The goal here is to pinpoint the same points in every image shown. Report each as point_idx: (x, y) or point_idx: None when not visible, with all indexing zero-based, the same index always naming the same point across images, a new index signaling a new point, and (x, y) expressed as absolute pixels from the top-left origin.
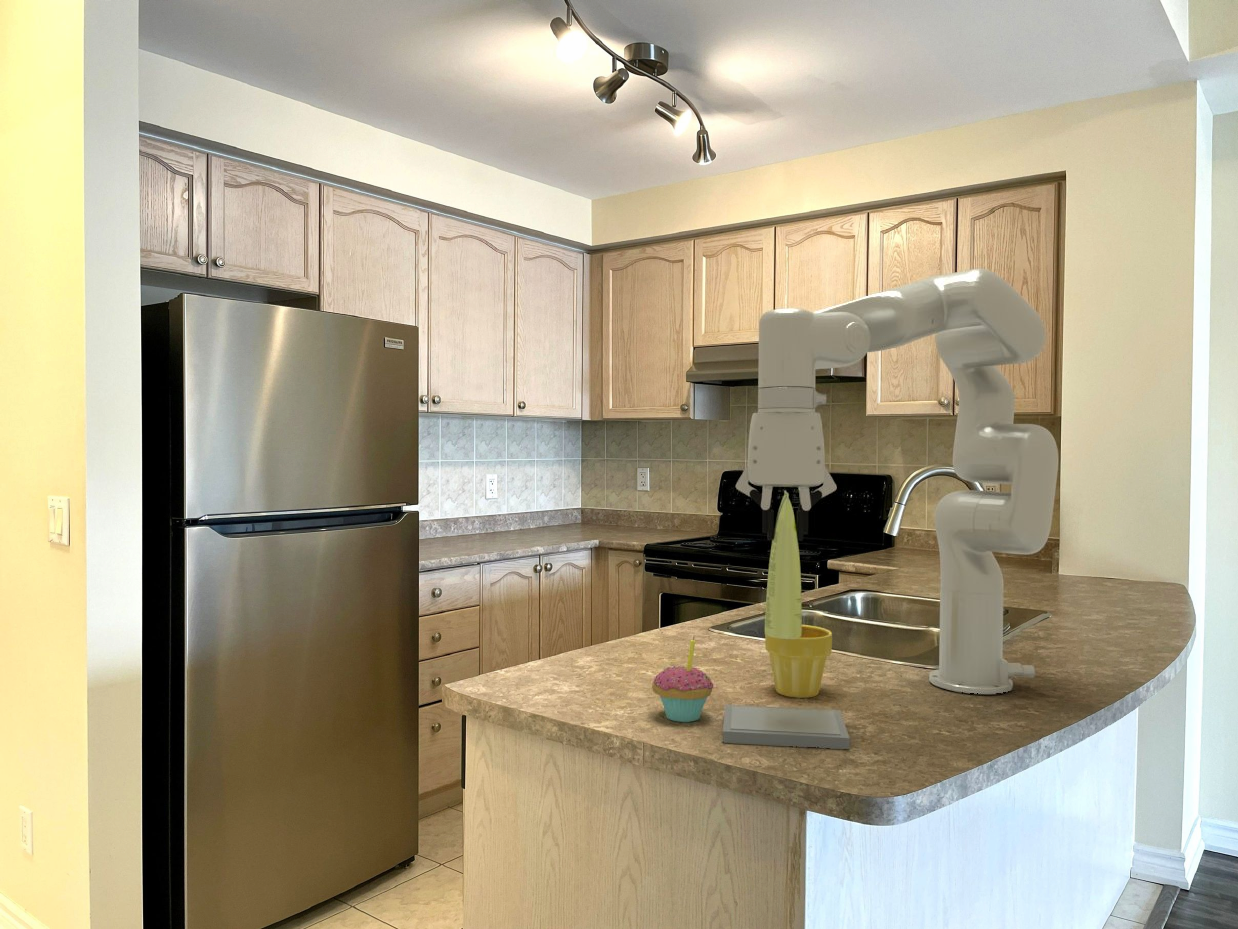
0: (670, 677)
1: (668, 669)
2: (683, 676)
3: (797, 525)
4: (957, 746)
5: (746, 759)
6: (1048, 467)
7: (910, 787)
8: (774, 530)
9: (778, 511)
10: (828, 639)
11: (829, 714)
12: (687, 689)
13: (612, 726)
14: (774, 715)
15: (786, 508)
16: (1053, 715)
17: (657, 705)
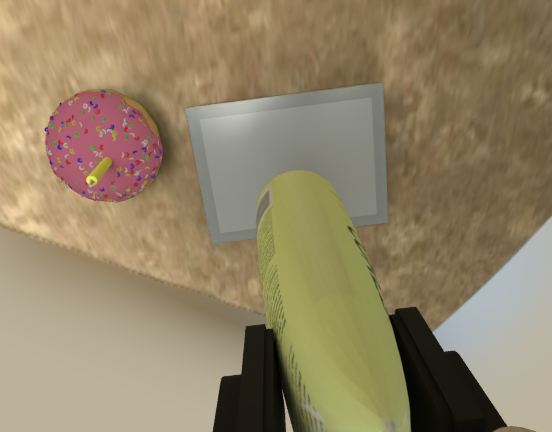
0: (85, 189)
1: (64, 156)
2: (107, 186)
3: (411, 424)
4: (538, 158)
5: (254, 285)
6: None
7: (440, 316)
8: (285, 392)
9: (310, 416)
10: None
11: (364, 118)
12: (127, 198)
13: (41, 213)
14: (275, 151)
15: None
16: None
17: (60, 82)
